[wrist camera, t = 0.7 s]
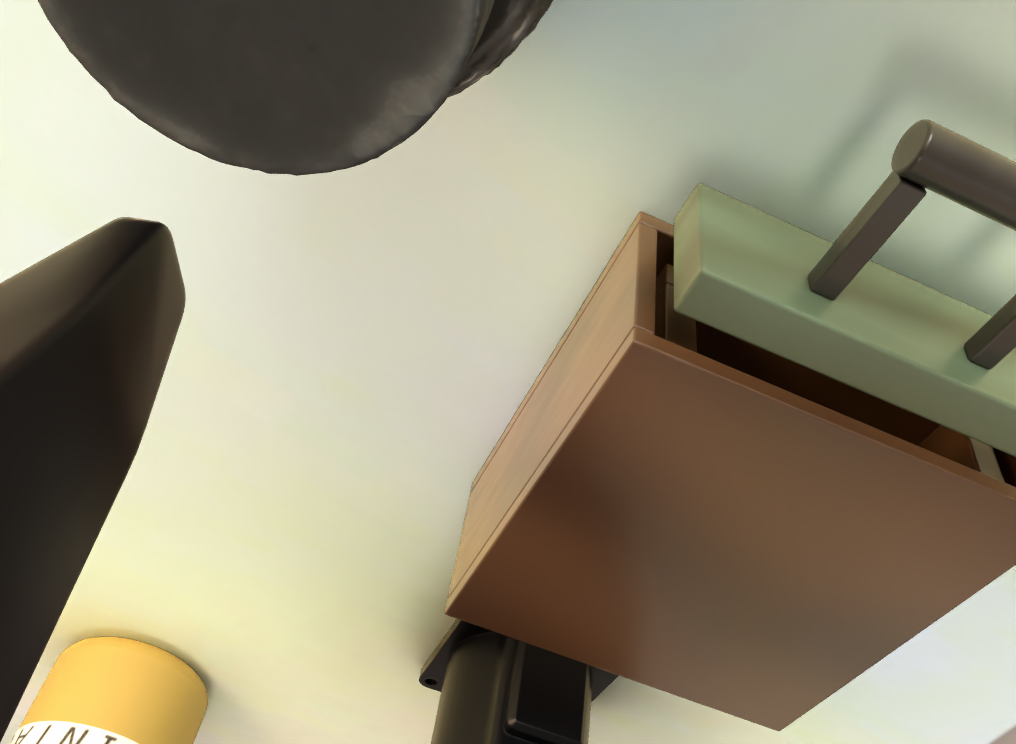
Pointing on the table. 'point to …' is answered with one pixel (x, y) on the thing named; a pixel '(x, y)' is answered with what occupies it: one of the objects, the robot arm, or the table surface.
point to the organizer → (713, 518)
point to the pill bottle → (290, 69)
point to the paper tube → (116, 697)
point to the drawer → (855, 306)
